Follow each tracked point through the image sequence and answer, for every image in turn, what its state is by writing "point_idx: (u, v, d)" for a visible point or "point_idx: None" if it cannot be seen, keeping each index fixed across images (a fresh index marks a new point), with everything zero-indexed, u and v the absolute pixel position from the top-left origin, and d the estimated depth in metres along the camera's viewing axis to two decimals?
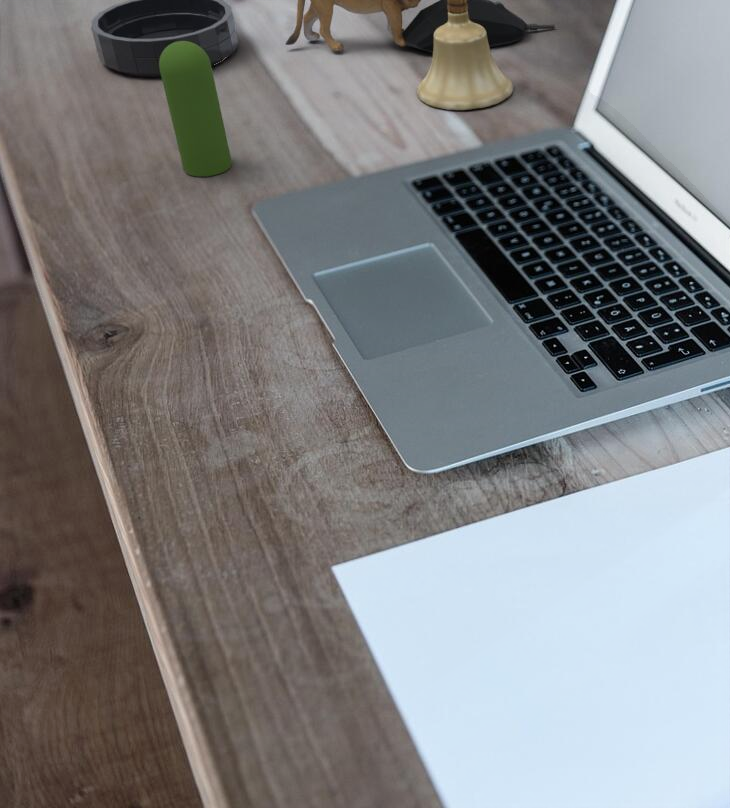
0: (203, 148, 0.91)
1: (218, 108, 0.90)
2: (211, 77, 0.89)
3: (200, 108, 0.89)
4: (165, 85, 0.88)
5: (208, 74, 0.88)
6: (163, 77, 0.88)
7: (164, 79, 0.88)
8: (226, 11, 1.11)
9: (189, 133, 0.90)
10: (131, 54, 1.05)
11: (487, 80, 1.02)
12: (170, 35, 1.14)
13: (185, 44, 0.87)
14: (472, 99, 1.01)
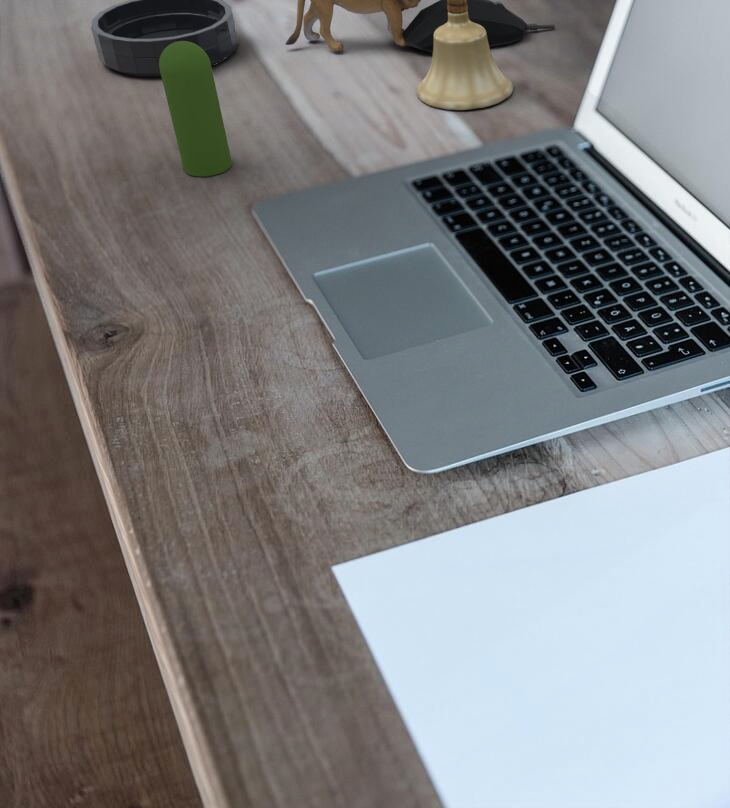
0: (203, 148, 0.91)
1: (218, 108, 0.90)
2: (211, 77, 0.89)
3: (200, 108, 0.89)
4: (165, 85, 0.88)
5: (208, 74, 0.88)
6: (163, 77, 0.88)
7: (164, 79, 0.88)
8: (226, 11, 1.11)
9: (189, 133, 0.90)
10: (131, 54, 1.05)
11: (487, 80, 1.02)
12: (170, 35, 1.14)
13: (185, 44, 0.87)
14: (472, 99, 1.01)
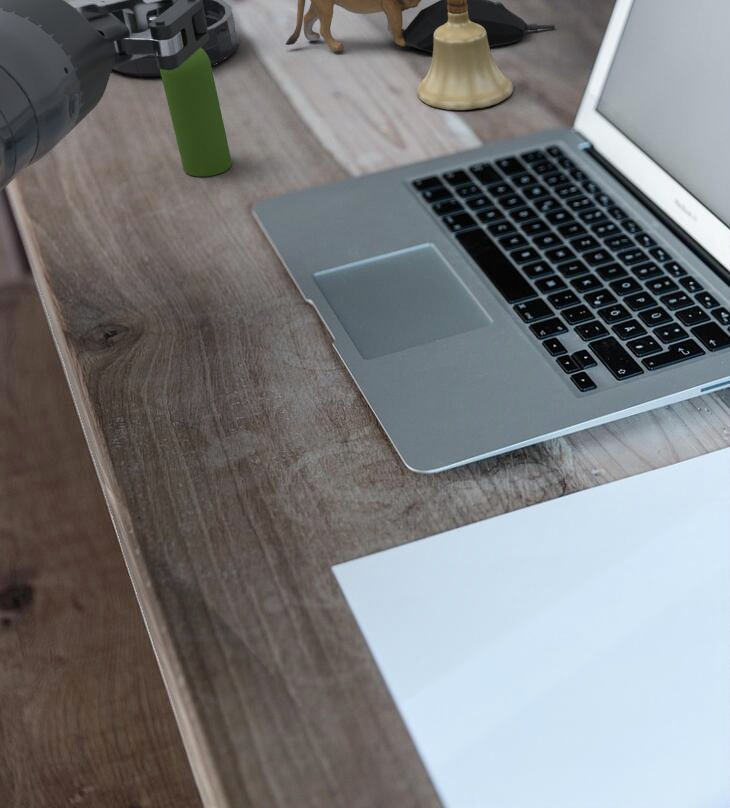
0: (203, 148, 0.91)
1: (218, 108, 0.90)
2: (211, 77, 0.89)
3: (200, 108, 0.89)
4: (165, 85, 0.88)
5: (208, 74, 0.88)
6: (163, 77, 0.88)
7: (164, 79, 0.88)
8: (226, 11, 1.11)
9: (189, 133, 0.90)
10: None
11: (487, 80, 1.02)
12: None
13: None
14: (472, 99, 1.01)
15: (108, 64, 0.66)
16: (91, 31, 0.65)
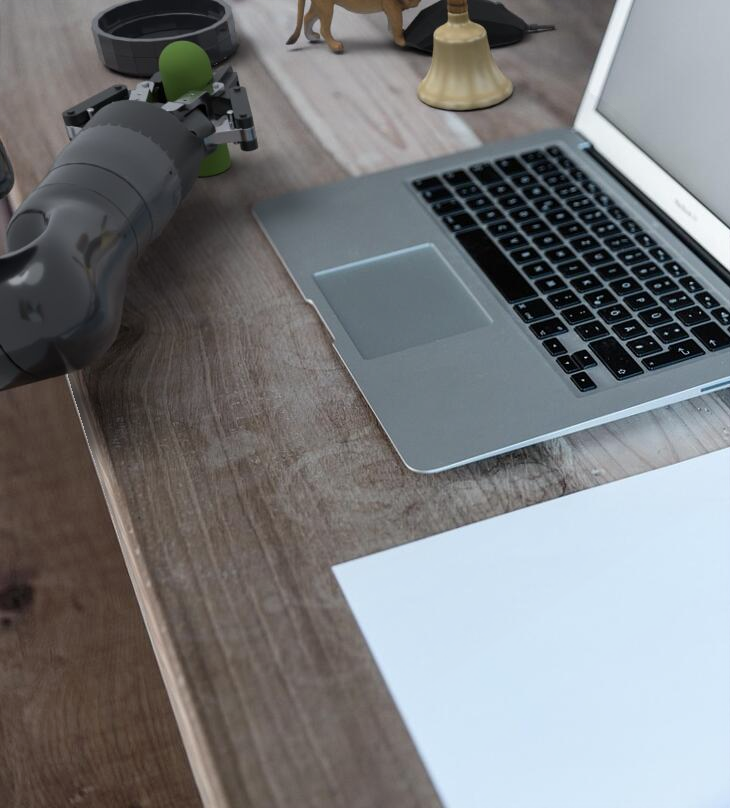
0: None
1: None
2: (211, 77, 0.89)
3: None
4: (165, 85, 0.88)
5: (208, 74, 0.88)
6: (163, 77, 0.88)
7: (164, 79, 0.88)
8: (226, 11, 1.11)
9: None
10: (131, 54, 1.05)
11: (487, 80, 1.02)
12: (170, 35, 1.14)
13: (184, 44, 0.87)
14: (472, 99, 1.01)
15: (200, 158, 0.82)
16: (187, 134, 0.80)
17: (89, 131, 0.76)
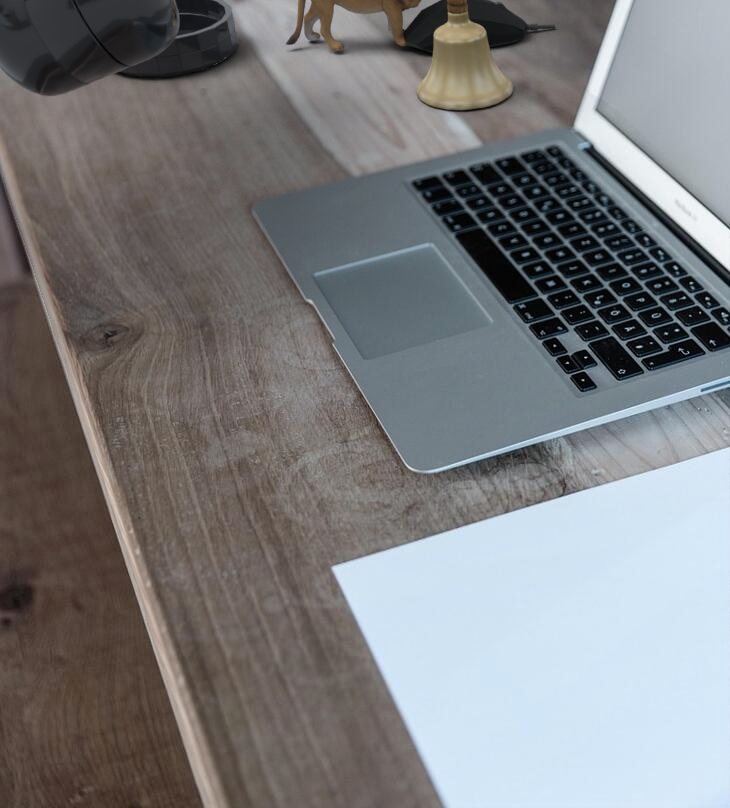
0: None
1: None
2: None
3: None
4: None
5: None
6: None
7: None
8: (226, 11, 1.11)
9: None
10: None
11: (487, 80, 1.02)
12: None
13: None
14: (472, 99, 1.01)
15: None
16: None
17: None
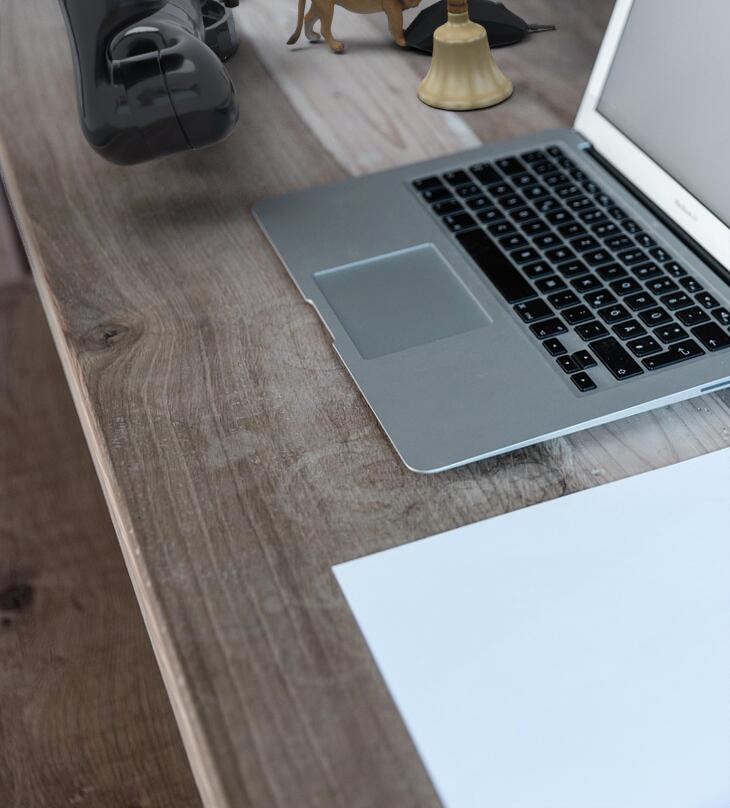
0: None
1: None
2: None
3: None
4: None
5: None
6: None
7: None
8: (226, 11, 1.11)
9: None
10: None
11: (487, 80, 1.02)
12: None
13: None
14: (472, 99, 1.01)
15: None
16: None
17: None
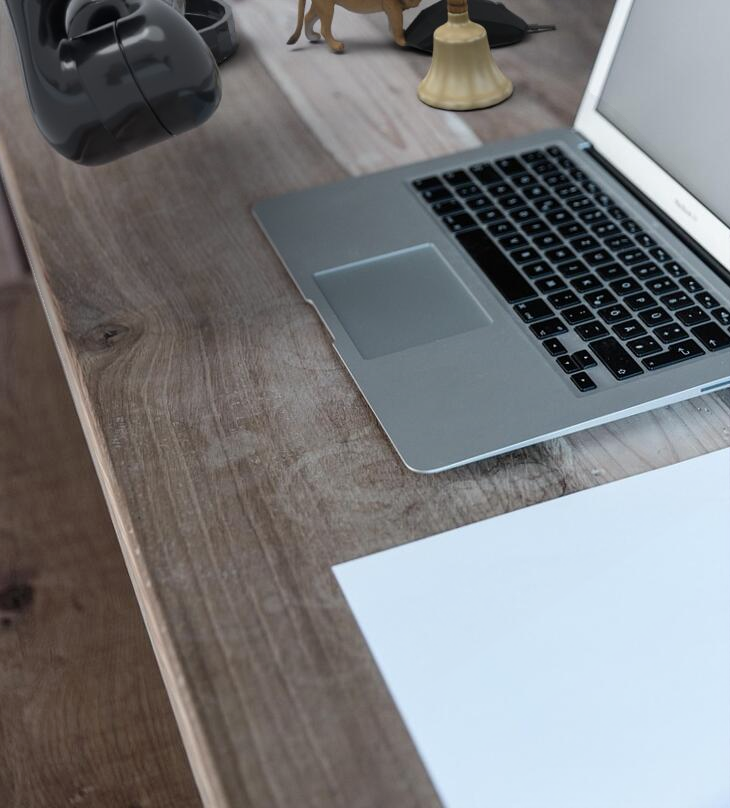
0: None
1: None
2: None
3: None
4: None
5: None
6: None
7: None
8: (226, 11, 1.11)
9: None
10: None
11: (487, 80, 1.02)
12: None
13: None
14: (472, 99, 1.01)
15: None
16: None
17: None
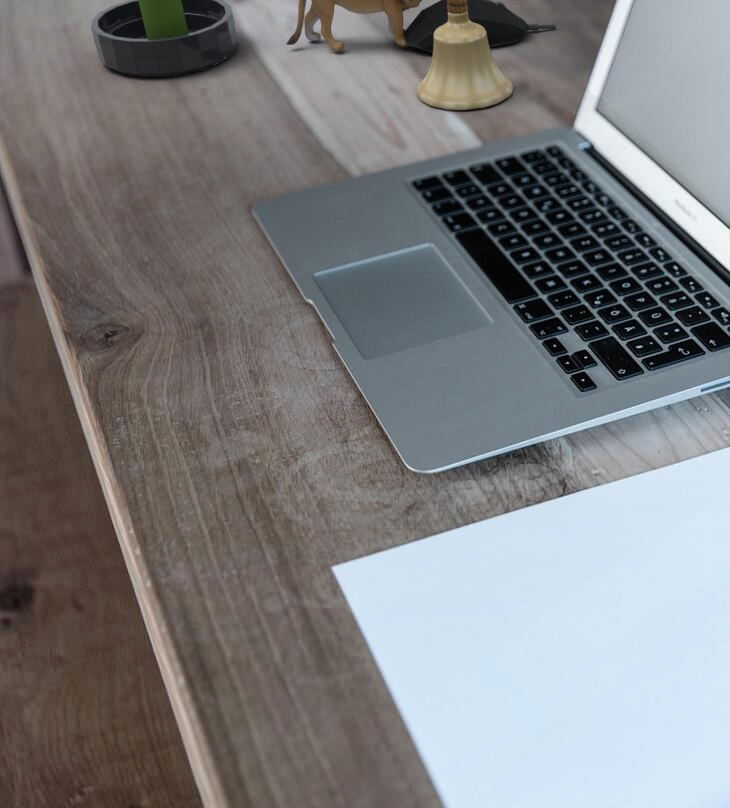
0: (173, 29, 1.09)
1: None
2: None
3: None
4: None
5: None
6: None
7: None
8: (226, 11, 1.11)
9: (161, 16, 1.08)
10: (131, 54, 1.05)
11: (487, 80, 1.02)
12: None
13: None
14: (472, 99, 1.01)
15: None
16: None
17: None
